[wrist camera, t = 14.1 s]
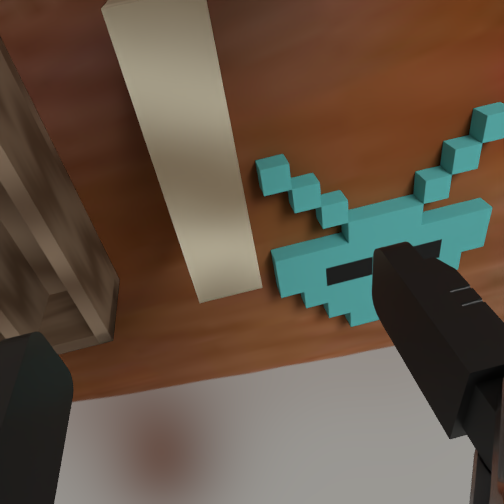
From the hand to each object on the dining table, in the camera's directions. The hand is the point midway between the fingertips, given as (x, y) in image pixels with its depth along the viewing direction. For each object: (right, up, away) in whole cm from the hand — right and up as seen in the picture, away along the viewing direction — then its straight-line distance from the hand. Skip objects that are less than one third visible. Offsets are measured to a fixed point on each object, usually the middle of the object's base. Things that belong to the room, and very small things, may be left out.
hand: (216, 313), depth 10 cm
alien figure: (+12, +4, +29) cm, 32 cm away
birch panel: (-4, +13, +17) cm, 22 cm away
